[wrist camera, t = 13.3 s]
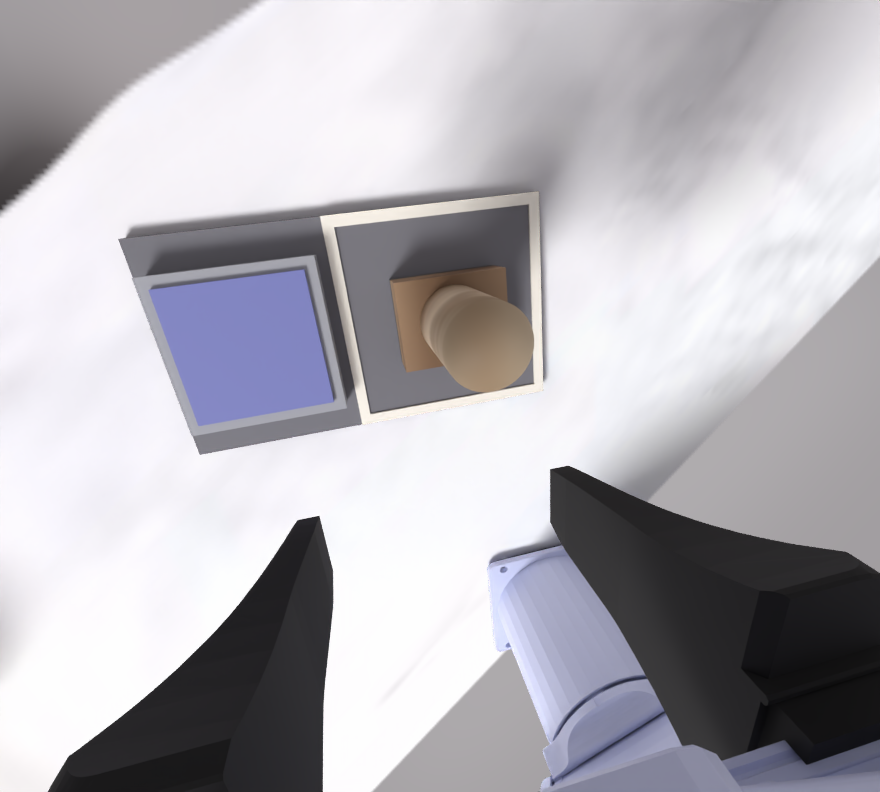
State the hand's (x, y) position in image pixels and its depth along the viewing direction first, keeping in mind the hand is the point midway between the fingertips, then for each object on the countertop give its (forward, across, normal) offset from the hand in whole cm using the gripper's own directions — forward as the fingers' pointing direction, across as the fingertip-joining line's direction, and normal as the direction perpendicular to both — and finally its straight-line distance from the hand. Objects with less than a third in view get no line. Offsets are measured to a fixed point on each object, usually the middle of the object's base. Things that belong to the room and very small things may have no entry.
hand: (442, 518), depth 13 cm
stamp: (+10, -3, -4) cm, 11 cm away
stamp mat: (+10, +1, -4) cm, 11 cm away
